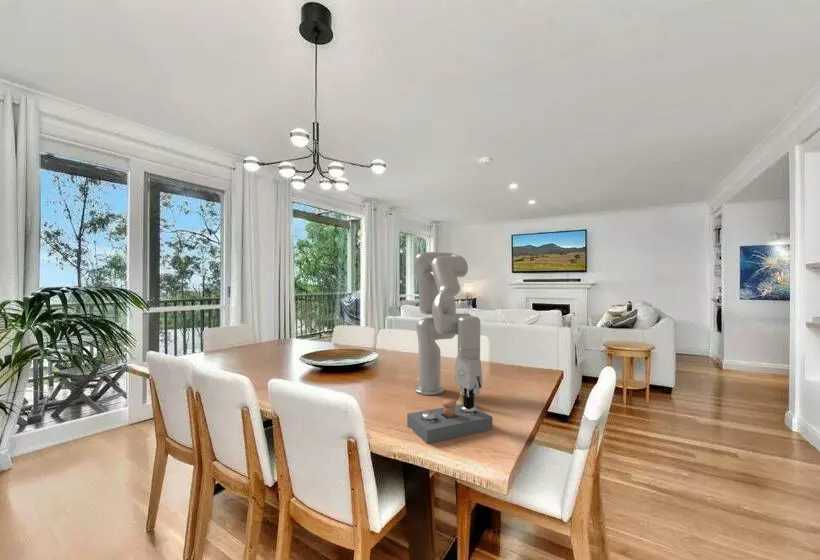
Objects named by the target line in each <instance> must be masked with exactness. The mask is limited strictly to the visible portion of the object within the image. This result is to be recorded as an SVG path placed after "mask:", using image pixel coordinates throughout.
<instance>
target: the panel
mask: <svg viewBox="0 0 820 560" xmlns="http://www.w3.org/2000/svg"><path fill="white" fill-rule="evenodd" d="M462 406H463V404H460V405H456V406H455V417H454V418H449V419H447V418H445V417H444V406H443V407H438V408H433V409H428V410H421V411H417V412H416V411H415V412H410V413H407V416H406V417H407V421H406V422H407V425H406V426H407V427H408V428H409V429H410V428H411V429H412V430H413V433H414V434H415V435H417V436H418V437H419V438H420V439H421V440H422V441H424V442H425V443H426V444H427V445H428V444H432V443H437V442H442V441H445V439H446V440H451V439H454V438H459V437H464V436H467V435H473V434H478V433H483V432H486V430H487V431H490V429H491V430H493V416H491V415H489V414H488V413H486V412H485V411H483V410H481V409H480V408H478V407H477V408H476V407H475V412H474V414H470V415H466V414H464V413H463V411H462ZM424 412H434V413H436V420H435V421H434V422H429V423H426V422H425V421H424V419H423V418H422V414H423V413H424ZM411 429H410V430H411ZM450 438H451V439H450Z"/></svg>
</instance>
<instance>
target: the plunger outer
mask: <svg viewBox="0 0 820 560" xmlns="http://www.w3.org/2000/svg"><path fill="white" fill-rule="evenodd" d="M422 418H423V419H424V421H425V422H426V423H429V422H434V421H435V420H436V413H434V412H424V413H423V414H422Z"/></svg>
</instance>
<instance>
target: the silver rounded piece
mask: <svg viewBox="0 0 820 560" xmlns="http://www.w3.org/2000/svg"><path fill="white" fill-rule="evenodd" d="M462 411H463V413H464V414H466V415H470V414H474V412H475V407H473V408H468V409H466V408H465V407H463V406H462Z"/></svg>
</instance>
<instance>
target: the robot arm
mask: <svg viewBox="0 0 820 560" xmlns="http://www.w3.org/2000/svg"><path fill="white" fill-rule="evenodd" d="M413 266H414V273H415V276H416V278H417V283H418V306H419V310H420V311H419V312H420V313H422V314H423V315H429V316H430V315H432V317H424V318H422V319H419V320H418V321H417V323H416V334H417V335H416V336H417V342H418V378H417V379H416V380H417V382H418V385H415V387H414V391H415V392H416V393H418V394H420V395H423V396H425V395H426V396H435V395H440V394H442V393H444V392H445V387H444V386H442V385H441V366H442V365H441V364H442V363H441V353H442V352H441V348H440V347H439V345H438V344H437V343H436V341H439V340H450V339H451V340H452V339H453V338H455V336H457V355H456V357H455V358H456V359H455V365H454V366H455V367H454V382H455V384H456V385H457V386H459V387H460V388H461V391H462V393H463V395H464V396H463V407H465V408H466V409H468V408H473V407H474V403H475V396H476V395H478V394H480V393H481V392H480V391H481V390H480V389H482V387H483V371H482V362H481V361H482V360H481V319H480V318H479V316H475V315H472V314H470V313H457V310H456V309H457V308H456V300H455V298H454V297H455V296H457V295H458V294H459V293H460V291H461V285H460V283H459V280H458V278H462V277H466V275H467V273H468V270H469V266H468V262H467V260H466V259H465V257H464V256H461V255H460V254H456V253H453V252H439V251H437V252H435V251H427V252H420V253H418V254H417V255H416V256H415V259H414V263H413Z"/></svg>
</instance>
